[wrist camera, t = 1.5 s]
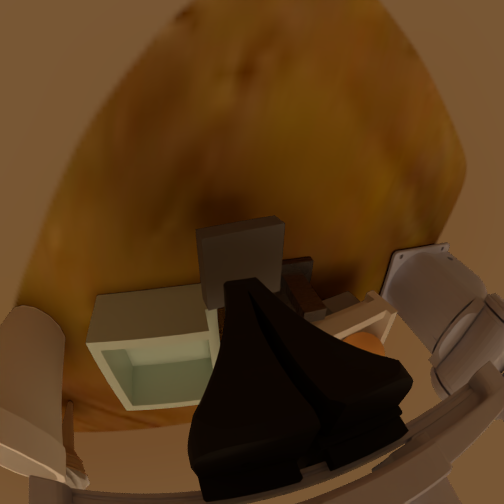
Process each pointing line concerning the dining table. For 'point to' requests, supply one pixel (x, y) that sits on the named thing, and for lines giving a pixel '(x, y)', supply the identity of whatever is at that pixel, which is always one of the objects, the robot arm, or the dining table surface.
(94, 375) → the dining table surface
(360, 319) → the lever board
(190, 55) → the dining table surface
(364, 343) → the ball
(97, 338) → the cup
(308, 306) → the lever stand
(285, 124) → the dining table surface
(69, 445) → the ice cream cone
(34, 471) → the foam cup
